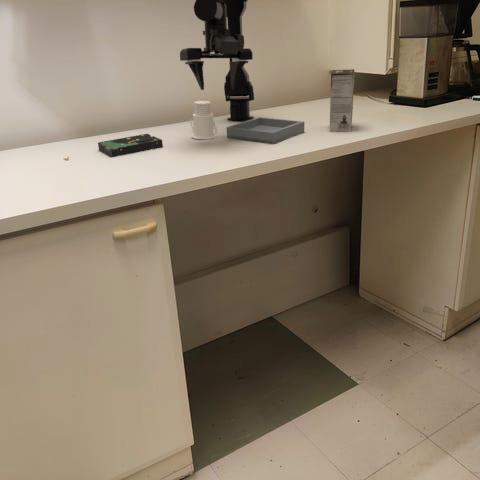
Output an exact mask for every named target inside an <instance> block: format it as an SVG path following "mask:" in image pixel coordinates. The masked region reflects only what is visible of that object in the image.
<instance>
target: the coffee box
mask: <svg viewBox="0 0 480 480" xmlns="http://www.w3.org/2000/svg"><path fill="white" fill-rule="evenodd" d="M330 77H331V78H330V100H329V104H330V105H329V106H330V107H329V132H351V131H352V124H353V123H352V122H353V110H354V91H355V89H354V88H355V68H354V69H353V68H351V69H333V70H331V75H330Z"/></svg>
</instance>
